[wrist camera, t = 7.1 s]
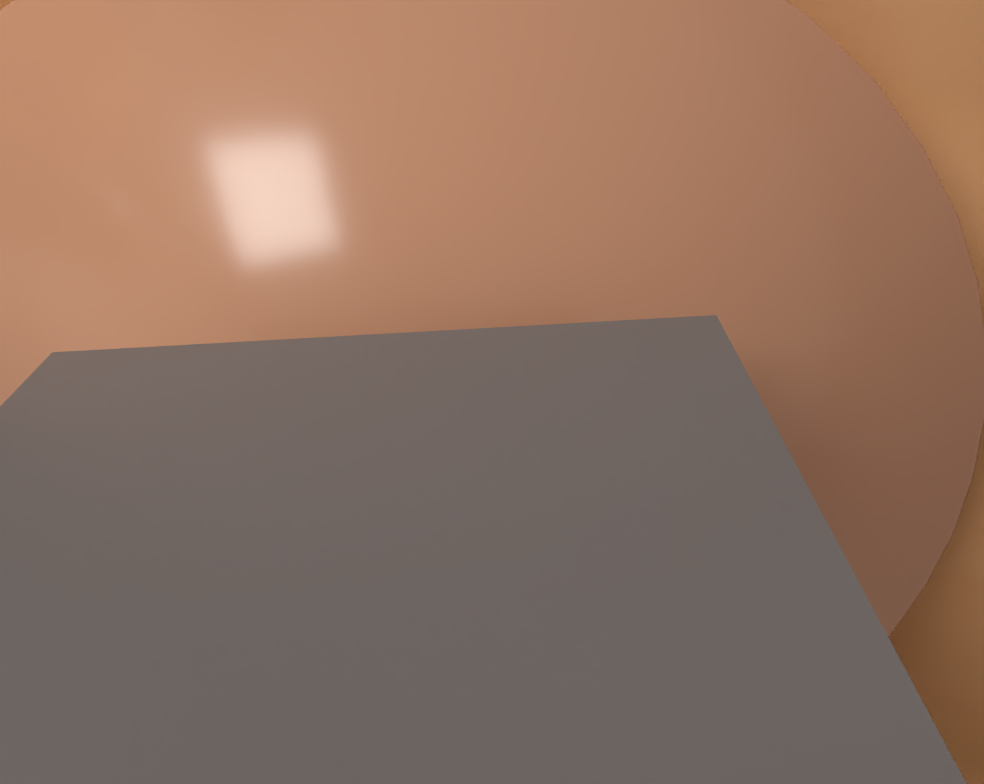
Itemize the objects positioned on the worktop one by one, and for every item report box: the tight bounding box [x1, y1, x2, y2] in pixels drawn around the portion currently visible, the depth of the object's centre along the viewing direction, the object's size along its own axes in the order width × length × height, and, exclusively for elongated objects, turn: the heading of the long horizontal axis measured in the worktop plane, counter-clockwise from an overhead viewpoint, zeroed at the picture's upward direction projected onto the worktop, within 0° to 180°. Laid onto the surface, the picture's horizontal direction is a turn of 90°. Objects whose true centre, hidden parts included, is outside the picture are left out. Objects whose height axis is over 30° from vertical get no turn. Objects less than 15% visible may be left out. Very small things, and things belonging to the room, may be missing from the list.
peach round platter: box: [0, 0, 984, 636], centre depth 12 cm, size 14×14×1 cm
